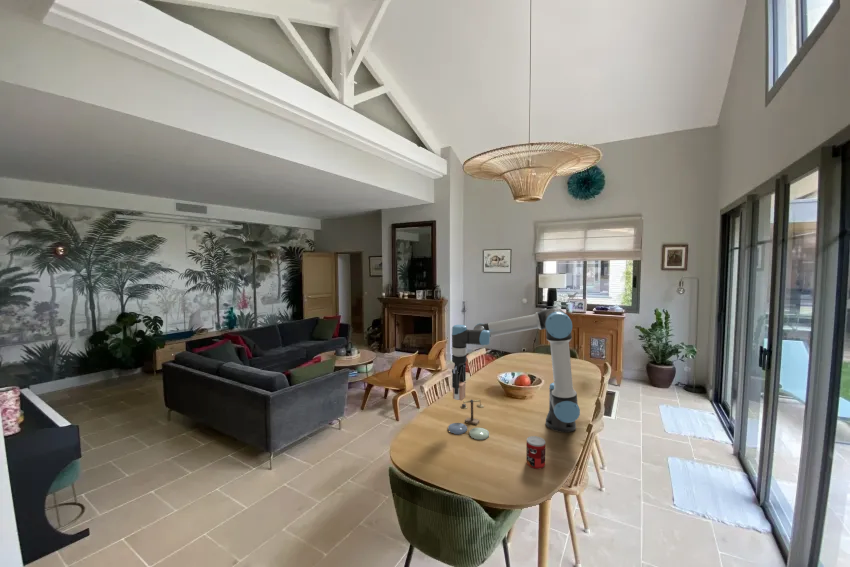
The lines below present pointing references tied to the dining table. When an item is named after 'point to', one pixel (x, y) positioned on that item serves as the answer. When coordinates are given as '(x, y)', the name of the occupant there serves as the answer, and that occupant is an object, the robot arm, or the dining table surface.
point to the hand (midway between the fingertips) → (459, 397)
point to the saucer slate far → (457, 428)
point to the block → (461, 390)
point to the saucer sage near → (479, 433)
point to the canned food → (535, 452)
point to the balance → (471, 420)
